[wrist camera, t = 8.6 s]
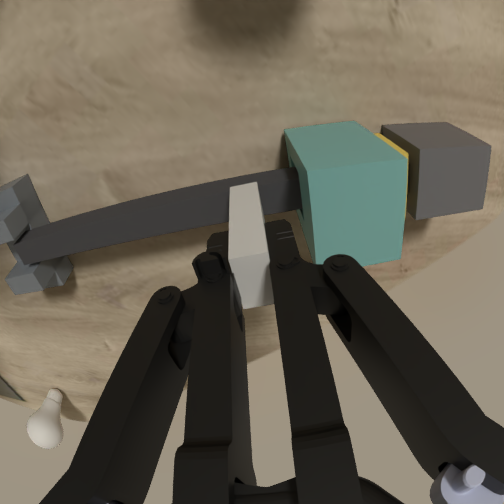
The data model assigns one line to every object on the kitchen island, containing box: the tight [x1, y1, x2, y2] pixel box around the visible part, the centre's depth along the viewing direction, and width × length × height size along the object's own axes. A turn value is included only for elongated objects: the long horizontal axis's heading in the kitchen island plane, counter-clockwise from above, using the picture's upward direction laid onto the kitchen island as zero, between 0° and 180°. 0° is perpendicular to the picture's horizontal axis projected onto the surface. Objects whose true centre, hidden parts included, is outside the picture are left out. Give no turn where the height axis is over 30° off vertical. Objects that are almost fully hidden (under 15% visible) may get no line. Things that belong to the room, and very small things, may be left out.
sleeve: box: [284, 121, 408, 266], centre depth 18 cm, size 5×6×8 cm
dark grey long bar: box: [13, 133, 410, 265], centre depth 20 cm, size 34×4×4 cm, turn 100°
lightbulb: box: [27, 389, 63, 449], centre depth 36 cm, size 6×6×11 cm
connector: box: [382, 122, 491, 220], centre depth 19 cm, size 6×5×6 cm
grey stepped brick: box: [0, 174, 73, 295], centre depth 22 cm, size 4×10×5 cm, turn 10°
